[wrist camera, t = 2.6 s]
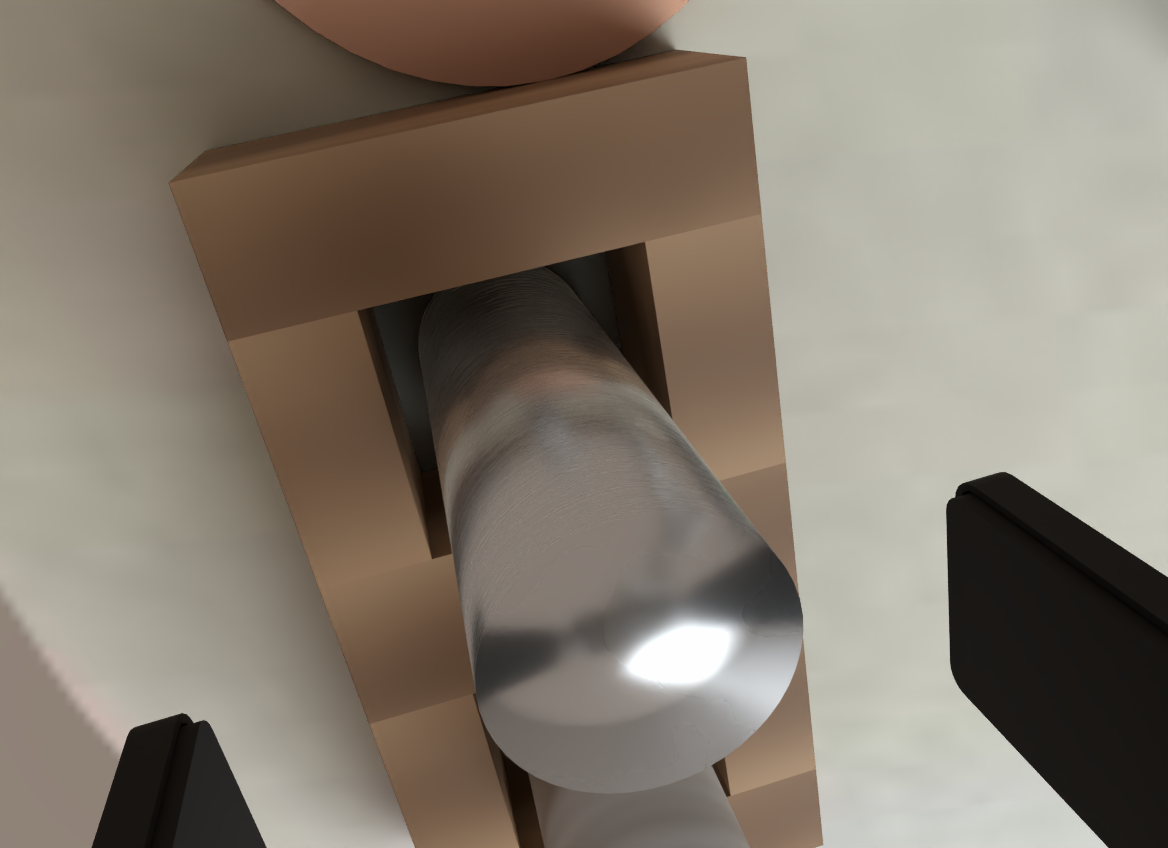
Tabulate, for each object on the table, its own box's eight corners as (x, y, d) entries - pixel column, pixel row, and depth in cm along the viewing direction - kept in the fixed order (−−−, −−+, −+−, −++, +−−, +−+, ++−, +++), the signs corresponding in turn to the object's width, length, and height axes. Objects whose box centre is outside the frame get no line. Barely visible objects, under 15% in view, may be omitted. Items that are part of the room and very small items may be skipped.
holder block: (205, 150, 19) (-4, 332, 8) (677, 50, 20) (1043, 89, 9) (445, 840, 27) (499, 1373, 17) (765, 740, 29) (1008, 1177, 18)
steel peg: (397, 281, 21) (437, 569, 10) (572, 240, 21) (788, 472, 10) (442, 440, 22) (515, 831, 12) (601, 398, 23) (815, 739, 12)
